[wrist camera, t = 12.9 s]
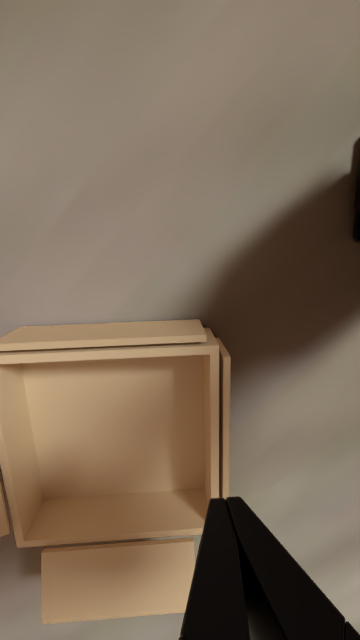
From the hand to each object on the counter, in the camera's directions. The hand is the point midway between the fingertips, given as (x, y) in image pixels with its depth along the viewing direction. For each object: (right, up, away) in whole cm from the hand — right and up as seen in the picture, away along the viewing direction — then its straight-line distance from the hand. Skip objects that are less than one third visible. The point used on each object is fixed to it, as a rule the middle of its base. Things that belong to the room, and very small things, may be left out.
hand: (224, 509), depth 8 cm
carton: (-5, -2, +14) cm, 15 cm away
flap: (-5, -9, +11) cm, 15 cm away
